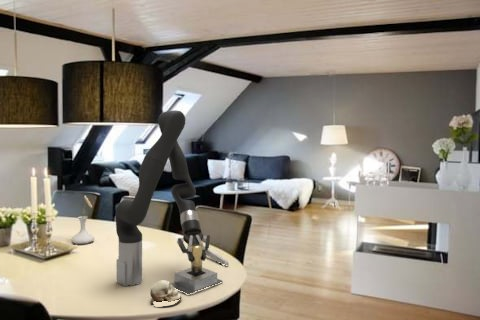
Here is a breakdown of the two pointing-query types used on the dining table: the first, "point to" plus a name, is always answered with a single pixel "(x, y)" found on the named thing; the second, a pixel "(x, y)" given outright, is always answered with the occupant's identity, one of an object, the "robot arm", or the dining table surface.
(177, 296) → the skull
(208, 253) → the wrench
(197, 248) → the brass fitting
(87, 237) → the flower in vase
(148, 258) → the dining table surface
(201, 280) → the grey square holder
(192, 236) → the robot arm
